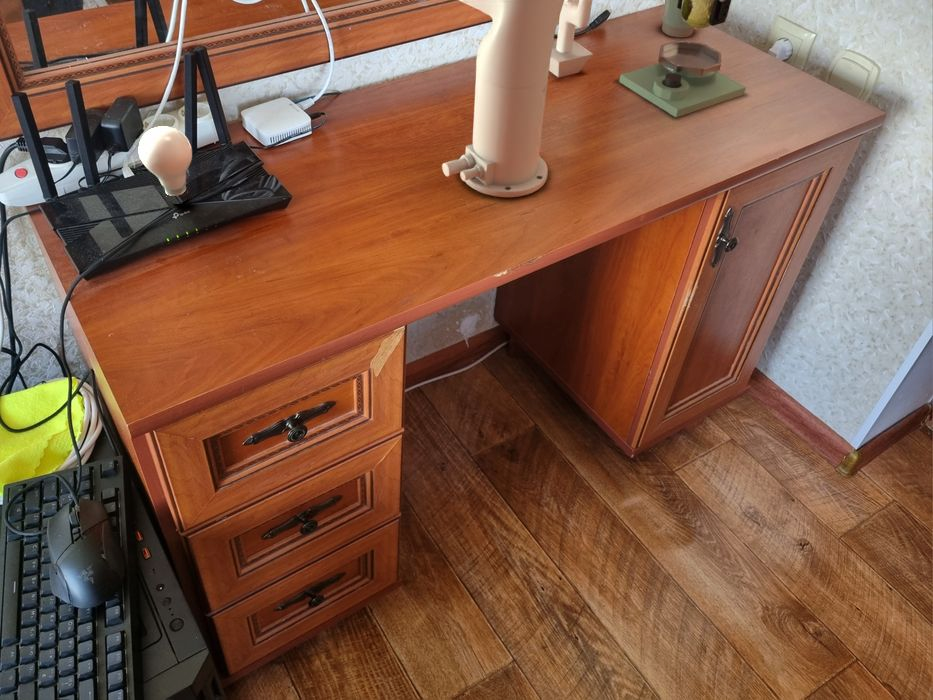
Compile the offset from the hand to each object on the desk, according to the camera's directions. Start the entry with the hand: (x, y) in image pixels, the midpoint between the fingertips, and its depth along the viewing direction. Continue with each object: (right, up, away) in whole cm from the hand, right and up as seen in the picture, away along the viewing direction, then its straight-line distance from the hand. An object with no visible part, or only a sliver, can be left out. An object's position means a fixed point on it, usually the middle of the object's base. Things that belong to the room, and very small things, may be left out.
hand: (700, 14), depth 128 cm
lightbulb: (-77, -35, -23) cm, 88 cm away
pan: (0, -6, +6) cm, 8 cm away
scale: (-2, -10, +6) cm, 12 cm away
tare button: (-4, -11, +1) cm, 12 cm away
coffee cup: (+2, +6, +23) cm, 24 cm away
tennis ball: (0, -2, +2) cm, 2 cm away
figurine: (-22, -6, +9) cm, 24 cm away
